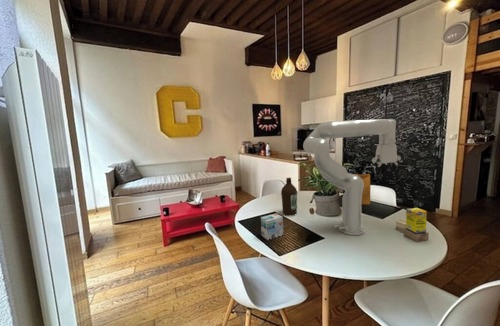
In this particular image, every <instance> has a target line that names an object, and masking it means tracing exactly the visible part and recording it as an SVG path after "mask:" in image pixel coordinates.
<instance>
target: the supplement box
mask: <svg viewBox="0 0 500 326" xmlns="http://www.w3.org/2000/svg"><path fill="white" fill-rule="evenodd" d="M405 210H406V211H405V212H406V215H405V220H406V229H407V230H409V231H411V232H413V233H415V234H417V233H426V232H427V212H428V211H427V210H424V209H421V208H419V207H414V208H413V207H412V208H406V209H405Z"/></svg>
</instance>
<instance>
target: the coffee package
mask: <svg viewBox="0 0 500 326" xmlns="http://www.w3.org/2000/svg"><path fill="white" fill-rule="evenodd" d="M354 175H357V176H359V177H361V178H362V180H363V182H364V188H363V192H362V201H361V206H363V205H364V206H365V205H371V189H372V188H371V174H370V173H367V174H357V173H354Z"/></svg>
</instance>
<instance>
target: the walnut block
mask: <svg viewBox="0 0 500 326" xmlns="http://www.w3.org/2000/svg"><path fill="white" fill-rule="evenodd" d="M403 237H405V238H407V239H409V240H411V241H413V242H415V243H421V242H424V241H429V232H428V231H426V233H417V234H415V233H413V232H411V231H409V230H407V229H404V233H403Z"/></svg>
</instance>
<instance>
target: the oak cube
mask: <svg viewBox="0 0 500 326" xmlns="http://www.w3.org/2000/svg"><path fill="white" fill-rule="evenodd" d="M404 229H406V219H402V218H401V219H398V220H395V231H399V232H401V233H403V234H404Z"/></svg>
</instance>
